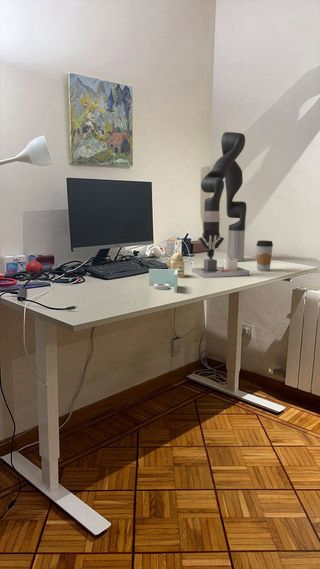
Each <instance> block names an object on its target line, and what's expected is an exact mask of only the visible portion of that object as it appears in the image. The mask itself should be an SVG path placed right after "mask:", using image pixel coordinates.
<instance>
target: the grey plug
mask: <svg viewBox="0 0 320 569" xmlns="http://www.w3.org/2000/svg"><path fill="white" fill-rule="evenodd" d="M217 267H218V260H217V259H214V258H213V257H212V258H210V257H208V258H205V259H203V268H204V271H206V272H208V271H217Z"/></svg>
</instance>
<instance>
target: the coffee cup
mask: <svg viewBox="0 0 320 569" xmlns="http://www.w3.org/2000/svg"><path fill="white" fill-rule="evenodd" d="M273 246H274V243H273V241H272V240H263V239H262V240H257V242H256V269H257V271H259V272H269V271H270V269H271V263H272V257H273V256H272V255H273V254H272V253H273Z"/></svg>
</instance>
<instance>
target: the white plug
mask: <svg viewBox="0 0 320 569" xmlns="http://www.w3.org/2000/svg"><path fill="white" fill-rule="evenodd" d="M223 261H224V266H223V267H224V269H228V270H237V267H238V261H237V259H235V258H233V256H229V258H227V257H226V258H224V260H223Z"/></svg>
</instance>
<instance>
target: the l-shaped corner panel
mask: <svg viewBox="0 0 320 569" xmlns="http://www.w3.org/2000/svg"><path fill="white" fill-rule="evenodd" d="M178 279H179V278H178V270H169V269H165V268H164V269H161V268H160V269H158V268H149V269H148V286H153V289H155V288H156V289H155V290H158V289H159V290H158V291H160V289H166V290H169V289H170V287H173V293H175V292H177V291H178ZM168 288H169V289H168Z"/></svg>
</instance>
